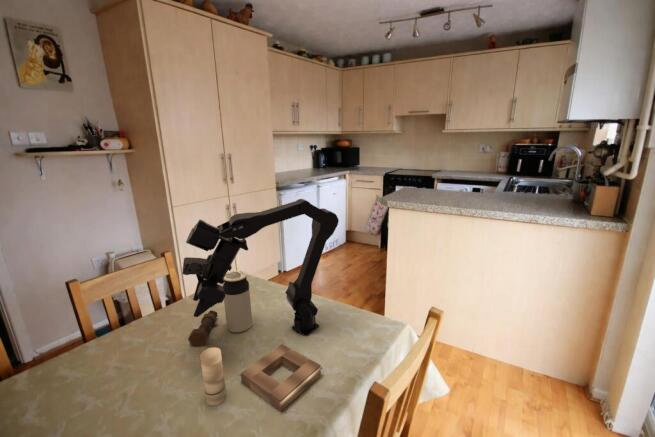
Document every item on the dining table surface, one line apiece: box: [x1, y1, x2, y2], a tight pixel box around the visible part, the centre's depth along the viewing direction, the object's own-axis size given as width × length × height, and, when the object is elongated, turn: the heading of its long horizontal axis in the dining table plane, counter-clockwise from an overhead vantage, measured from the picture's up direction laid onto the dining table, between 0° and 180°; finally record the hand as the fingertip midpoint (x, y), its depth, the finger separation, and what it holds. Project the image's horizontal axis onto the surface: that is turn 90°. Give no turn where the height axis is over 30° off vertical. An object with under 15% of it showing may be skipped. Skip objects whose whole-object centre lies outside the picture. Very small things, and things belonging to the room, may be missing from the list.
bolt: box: [187, 309, 218, 348], centre depth 98 cm, size 6×5×15 cm
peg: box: [199, 347, 227, 407], centre depth 71 cm, size 4×4×12 cm
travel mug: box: [222, 269, 253, 333], centre depth 99 cm, size 8×8×18 cm
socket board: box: [238, 343, 323, 412], centre depth 78 cm, size 14×15×3 cm
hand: (195, 308), depth 84 cm, fingers open, 9 cm apart
